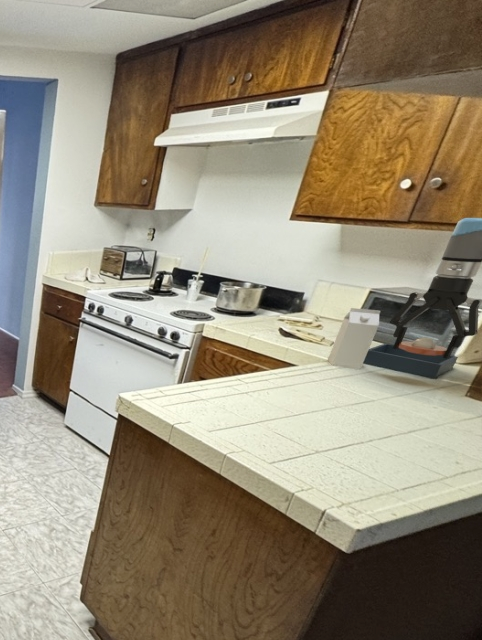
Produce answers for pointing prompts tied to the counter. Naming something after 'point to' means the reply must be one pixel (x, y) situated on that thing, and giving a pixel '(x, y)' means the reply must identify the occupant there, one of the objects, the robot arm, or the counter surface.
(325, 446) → the counter surface
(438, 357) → the dish tub
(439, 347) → the rice plate
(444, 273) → the robot arm
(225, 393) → the counter surface
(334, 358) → the milk carton
